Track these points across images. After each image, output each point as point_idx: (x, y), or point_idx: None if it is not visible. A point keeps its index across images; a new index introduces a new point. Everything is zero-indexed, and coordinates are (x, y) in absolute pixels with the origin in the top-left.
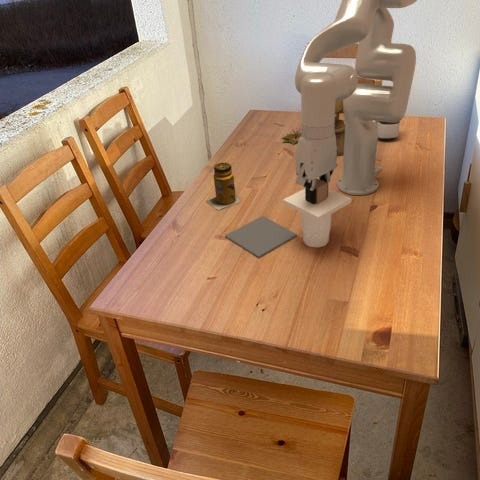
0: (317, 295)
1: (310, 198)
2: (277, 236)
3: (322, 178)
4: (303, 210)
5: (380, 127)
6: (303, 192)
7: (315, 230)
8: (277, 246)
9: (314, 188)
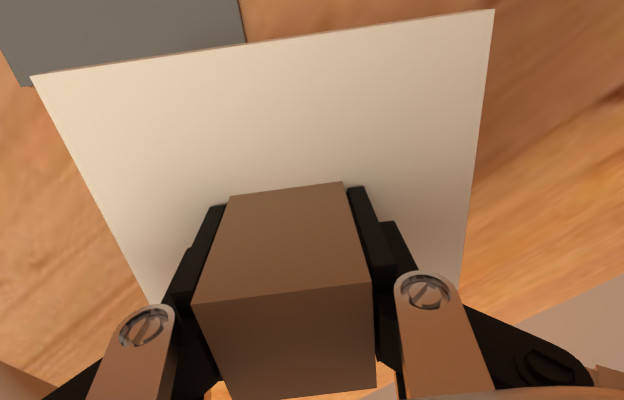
0: None
1: None
2: (157, 5)
3: (397, 343)
4: (139, 276)
5: None
6: (273, 91)
7: None
8: None
9: (208, 391)
